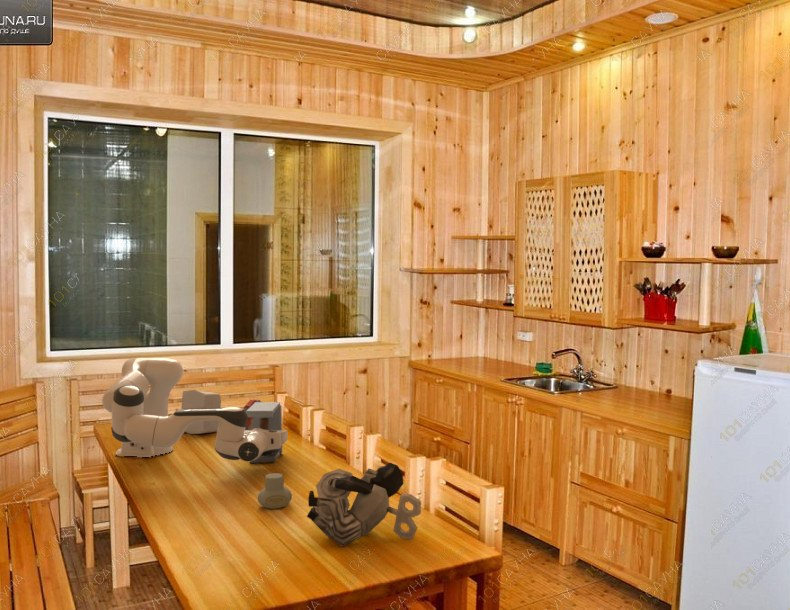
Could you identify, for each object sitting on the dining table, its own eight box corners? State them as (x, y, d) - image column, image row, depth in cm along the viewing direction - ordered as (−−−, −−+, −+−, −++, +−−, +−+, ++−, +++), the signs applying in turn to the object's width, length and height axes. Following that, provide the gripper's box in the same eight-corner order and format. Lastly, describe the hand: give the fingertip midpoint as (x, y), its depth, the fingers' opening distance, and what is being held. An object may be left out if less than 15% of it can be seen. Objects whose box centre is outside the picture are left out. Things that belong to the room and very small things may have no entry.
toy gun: (238, 445, 325) (232, 415, 319) (258, 420, 342) (252, 392, 337) (246, 445, 324) (240, 416, 318) (266, 421, 341) (260, 393, 336)
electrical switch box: (226, 433, 341) (229, 390, 342) (202, 436, 329) (205, 391, 330) (203, 430, 349) (207, 387, 350) (179, 432, 337) (182, 388, 338)
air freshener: (258, 512, 232) (258, 481, 231) (256, 503, 240) (255, 473, 239) (293, 508, 235) (292, 477, 234) (290, 500, 243) (289, 470, 242)
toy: (294, 524, 219) (368, 471, 236) (363, 592, 202) (438, 530, 219) (289, 476, 207) (368, 423, 224) (363, 544, 189) (443, 482, 206)
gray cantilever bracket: (246, 465, 283) (245, 411, 281) (255, 453, 299) (254, 402, 297) (275, 465, 283) (273, 410, 281) (282, 453, 299) (281, 402, 297)
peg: (259, 450, 289) (258, 419, 288) (261, 447, 292) (260, 417, 291) (268, 449, 288) (267, 419, 288) (270, 447, 292) (269, 417, 291)
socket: (249, 463, 286) (249, 456, 286) (255, 455, 296) (255, 449, 296) (275, 463, 286) (275, 456, 285) (279, 455, 296) (279, 449, 295)
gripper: (230, 448, 277) (238, 439, 291) (284, 448, 277) (290, 439, 291) (229, 432, 277) (238, 423, 291) (283, 432, 276) (289, 423, 290)
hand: (264, 431), depth 291 cm, fingers closed on peg, 4 cm apart
